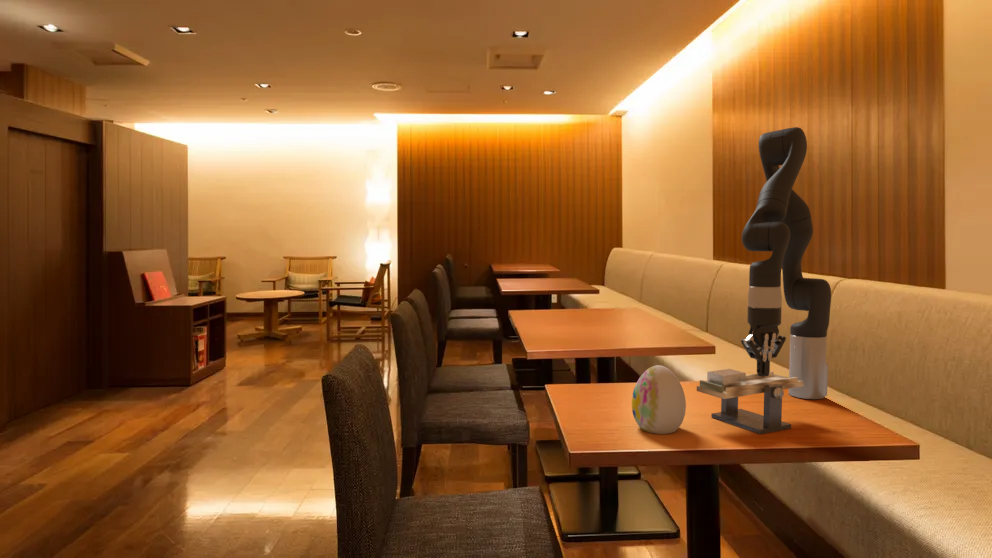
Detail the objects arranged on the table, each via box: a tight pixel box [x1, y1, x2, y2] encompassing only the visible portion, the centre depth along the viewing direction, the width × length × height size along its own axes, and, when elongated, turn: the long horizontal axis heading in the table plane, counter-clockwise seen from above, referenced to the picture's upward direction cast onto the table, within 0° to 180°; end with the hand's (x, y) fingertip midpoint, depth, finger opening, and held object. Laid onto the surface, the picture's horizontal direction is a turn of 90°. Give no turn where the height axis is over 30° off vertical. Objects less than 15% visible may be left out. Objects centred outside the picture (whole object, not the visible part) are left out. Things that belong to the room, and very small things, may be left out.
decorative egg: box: [631, 364, 687, 435], centre depth 147 cm, size 12×12×15 cm
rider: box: [706, 368, 747, 391], centre depth 148 cm, size 7×5×4 cm
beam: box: [696, 371, 804, 399], centre depth 151 cm, size 26×11×3 cm, turn 115°
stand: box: [711, 384, 792, 435], centre depth 151 cm, size 10×17×10 cm, turn 25°
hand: (763, 375), depth 153 cm, fingers closed
